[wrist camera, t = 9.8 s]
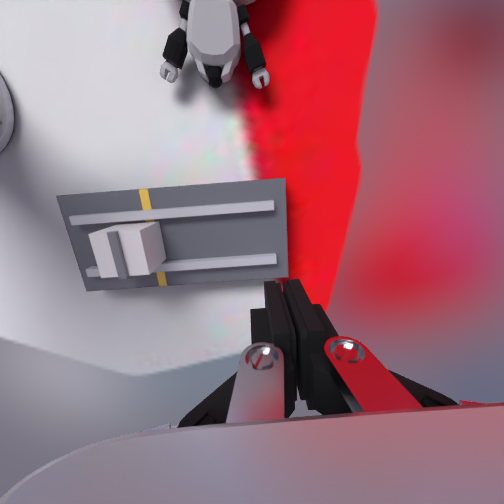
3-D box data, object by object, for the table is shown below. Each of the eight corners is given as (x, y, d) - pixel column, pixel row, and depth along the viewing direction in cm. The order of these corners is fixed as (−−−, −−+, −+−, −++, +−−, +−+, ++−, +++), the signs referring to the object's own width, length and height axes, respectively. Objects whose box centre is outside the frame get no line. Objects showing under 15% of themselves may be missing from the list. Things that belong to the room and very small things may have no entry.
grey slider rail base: (75, 194, 29) (48, 196, 25) (281, 178, 29) (286, 178, 25) (100, 281, 33) (81, 294, 29) (285, 268, 32) (289, 280, 29)
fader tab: (116, 223, 27) (84, 234, 22) (158, 220, 27) (136, 230, 22) (126, 262, 29) (98, 280, 23) (166, 259, 29) (147, 277, 23)
